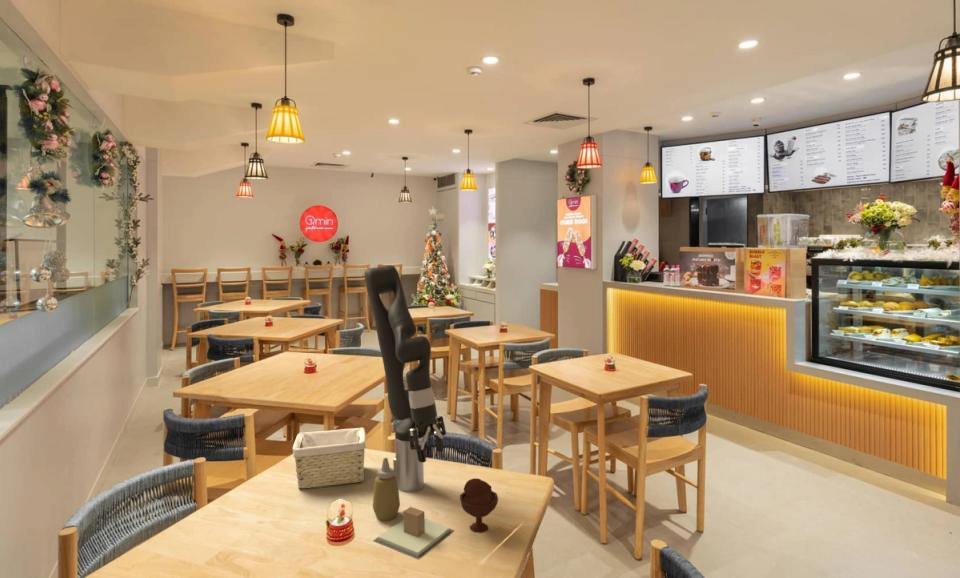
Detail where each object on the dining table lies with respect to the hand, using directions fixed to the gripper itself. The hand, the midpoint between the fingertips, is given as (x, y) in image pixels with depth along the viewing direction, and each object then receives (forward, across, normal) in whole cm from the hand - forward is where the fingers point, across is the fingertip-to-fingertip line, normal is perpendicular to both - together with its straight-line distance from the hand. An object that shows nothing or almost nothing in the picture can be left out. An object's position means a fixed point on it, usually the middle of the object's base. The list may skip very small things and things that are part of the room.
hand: (431, 456), depth 156 cm
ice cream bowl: (+20, +1, +14) cm, 25 cm away
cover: (+17, +14, +1) cm, 22 cm away
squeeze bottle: (+15, +10, -13) cm, 22 cm away
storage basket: (+9, 0, -47) cm, 48 cm away
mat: (+18, +14, +1) cm, 22 cm away
